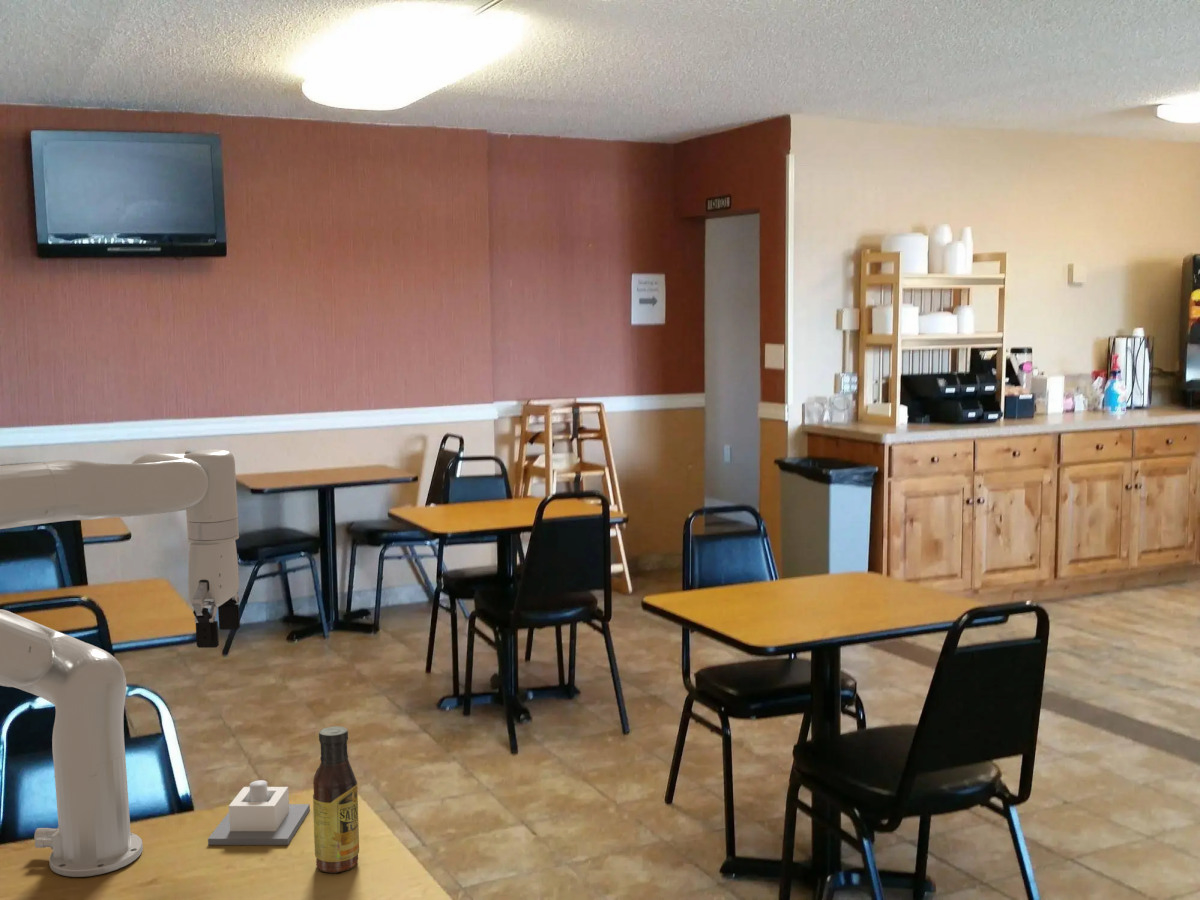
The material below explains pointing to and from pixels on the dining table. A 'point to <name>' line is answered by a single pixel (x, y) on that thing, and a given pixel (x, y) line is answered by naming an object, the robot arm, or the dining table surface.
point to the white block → (259, 810)
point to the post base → (277, 837)
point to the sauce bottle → (335, 805)
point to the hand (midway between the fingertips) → (219, 637)
